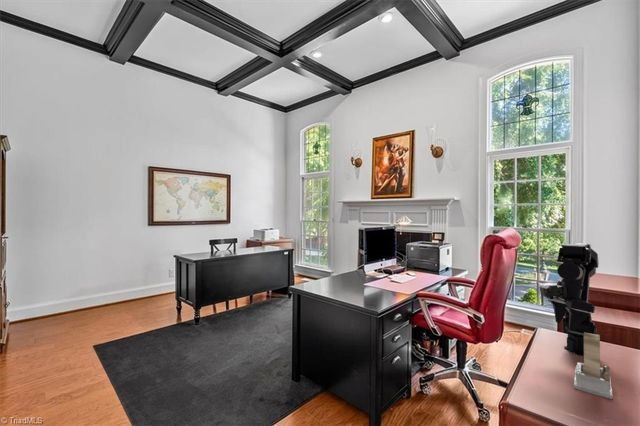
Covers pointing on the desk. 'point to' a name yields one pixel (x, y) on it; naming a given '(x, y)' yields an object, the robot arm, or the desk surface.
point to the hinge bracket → (593, 381)
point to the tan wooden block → (592, 354)
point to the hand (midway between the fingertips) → (564, 326)
